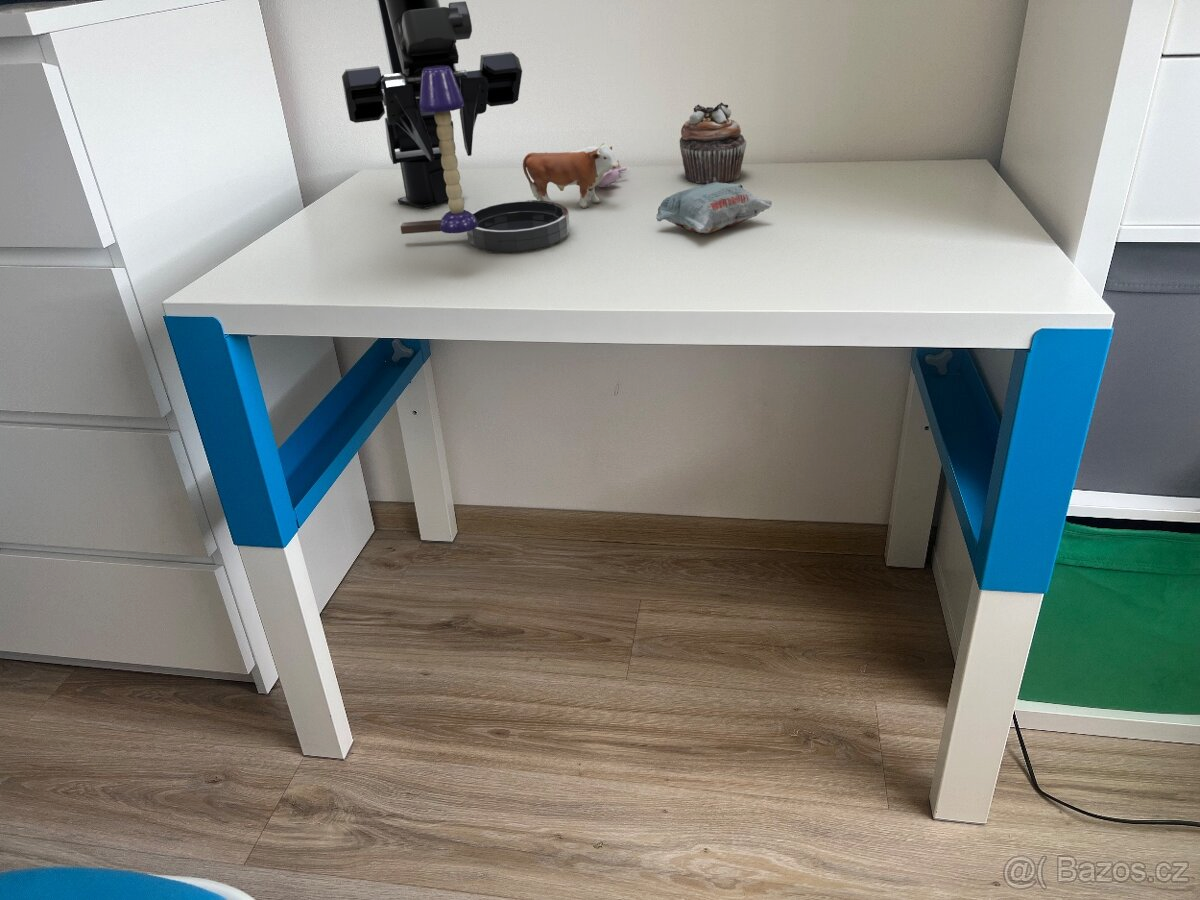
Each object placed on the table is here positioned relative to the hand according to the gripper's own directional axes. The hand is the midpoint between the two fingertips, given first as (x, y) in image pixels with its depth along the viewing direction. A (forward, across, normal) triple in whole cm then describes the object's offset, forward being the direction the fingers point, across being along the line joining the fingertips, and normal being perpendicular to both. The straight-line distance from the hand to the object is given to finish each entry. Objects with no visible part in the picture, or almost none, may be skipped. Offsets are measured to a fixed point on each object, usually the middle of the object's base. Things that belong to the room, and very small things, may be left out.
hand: (451, 156), depth 92 cm
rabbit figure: (-10, +25, +29) cm, 40 cm away
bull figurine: (-4, +19, +24) cm, 31 cm away
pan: (+2, +8, +17) cm, 19 cm away
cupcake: (-7, +41, +27) cm, 49 cm away
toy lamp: (+5, 0, +7) cm, 8 cm away
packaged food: (+8, +32, +11) cm, 34 cm away
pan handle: (-1, -2, +18) cm, 18 cm away
